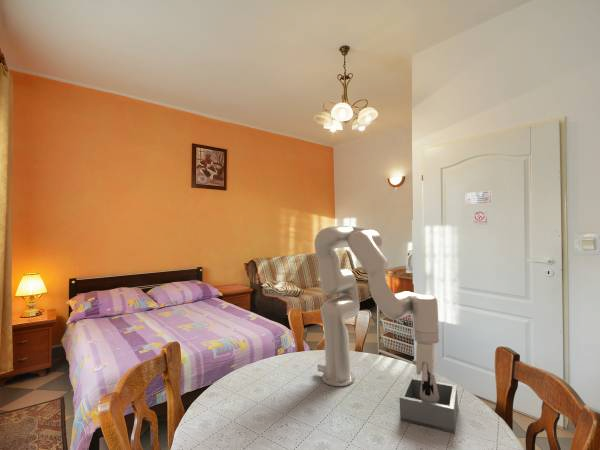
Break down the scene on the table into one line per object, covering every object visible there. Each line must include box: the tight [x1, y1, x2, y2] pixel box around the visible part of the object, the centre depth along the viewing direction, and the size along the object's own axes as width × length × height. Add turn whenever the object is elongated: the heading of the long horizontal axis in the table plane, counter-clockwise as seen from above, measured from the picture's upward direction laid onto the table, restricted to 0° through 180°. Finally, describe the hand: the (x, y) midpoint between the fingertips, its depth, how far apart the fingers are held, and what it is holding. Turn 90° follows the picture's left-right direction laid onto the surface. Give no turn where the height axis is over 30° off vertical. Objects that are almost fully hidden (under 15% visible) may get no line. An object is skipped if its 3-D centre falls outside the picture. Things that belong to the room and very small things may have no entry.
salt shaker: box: [420, 373, 440, 403], centre depth 102 cm, size 6×6×13 cm
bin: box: [399, 376, 459, 435], centre depth 102 cm, size 15×15×7 cm
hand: (429, 393), depth 102 cm, fingers closed on salt shaker, 3 cm apart
